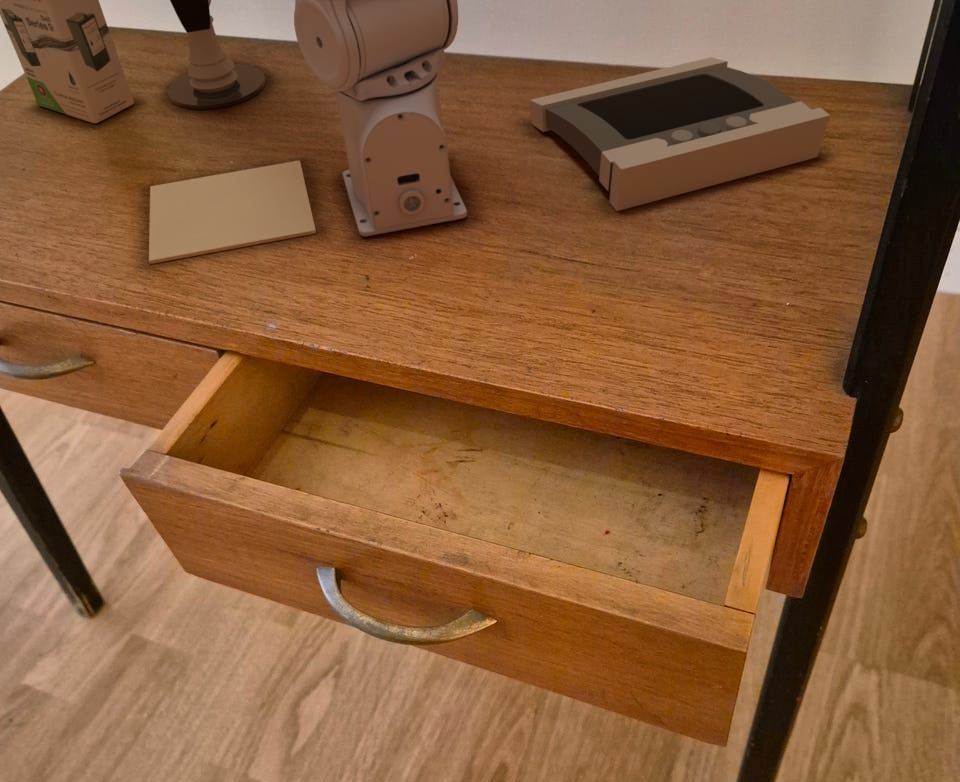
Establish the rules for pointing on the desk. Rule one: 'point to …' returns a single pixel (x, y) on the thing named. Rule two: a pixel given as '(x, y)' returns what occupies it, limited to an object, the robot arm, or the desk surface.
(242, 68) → the slate coaster
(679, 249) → the desk surface
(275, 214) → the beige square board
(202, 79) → the rook chess piece
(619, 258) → the desk surface
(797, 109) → the alarm clock
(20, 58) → the ink box
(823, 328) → the desk surface
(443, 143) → the robot arm
